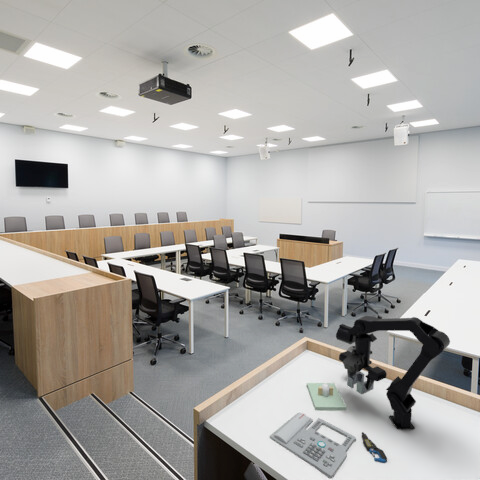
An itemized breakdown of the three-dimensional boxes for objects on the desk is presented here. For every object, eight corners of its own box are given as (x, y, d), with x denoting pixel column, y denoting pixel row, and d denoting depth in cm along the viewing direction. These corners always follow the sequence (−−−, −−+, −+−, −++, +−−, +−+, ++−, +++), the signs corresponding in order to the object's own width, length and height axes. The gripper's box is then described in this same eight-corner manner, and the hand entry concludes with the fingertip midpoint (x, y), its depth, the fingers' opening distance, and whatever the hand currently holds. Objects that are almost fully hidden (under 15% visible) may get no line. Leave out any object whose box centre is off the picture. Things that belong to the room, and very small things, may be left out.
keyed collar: (373, 389, 127) (373, 379, 126) (361, 394, 123) (362, 384, 123) (358, 380, 133) (359, 371, 132) (347, 385, 129) (347, 376, 129)
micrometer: (388, 459, 99) (372, 459, 99) (388, 464, 100) (372, 464, 100) (373, 430, 111) (358, 430, 111) (373, 435, 111) (358, 435, 111)
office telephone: (269, 432, 109) (300, 405, 124) (269, 439, 110) (300, 411, 124) (331, 472, 94) (359, 435, 108) (331, 480, 94) (359, 442, 108)
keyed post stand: (346, 410, 124) (346, 397, 123) (315, 409, 124) (315, 397, 123) (334, 385, 140) (334, 374, 139) (306, 385, 140) (307, 374, 139)
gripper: (330, 343, 130) (328, 378, 132) (369, 364, 114) (366, 404, 116) (349, 337, 135) (347, 371, 137) (388, 356, 119) (385, 395, 121)
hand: (360, 384), depth 128 cm, fingers closed on keyed collar, 7 cm apart
